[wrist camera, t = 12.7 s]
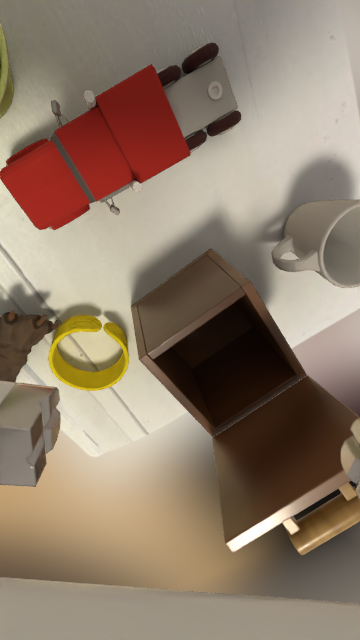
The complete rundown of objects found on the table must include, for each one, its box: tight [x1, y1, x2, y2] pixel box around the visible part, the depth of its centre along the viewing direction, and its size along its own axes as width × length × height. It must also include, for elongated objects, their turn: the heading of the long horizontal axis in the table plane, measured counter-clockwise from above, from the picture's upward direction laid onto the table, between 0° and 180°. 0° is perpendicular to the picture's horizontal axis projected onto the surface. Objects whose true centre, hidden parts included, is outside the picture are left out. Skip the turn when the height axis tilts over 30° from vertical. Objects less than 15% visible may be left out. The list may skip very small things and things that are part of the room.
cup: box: [272, 200, 360, 288], centre depth 31 cm, size 8×10×8 cm
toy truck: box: [0, 43, 241, 230], centre depth 24 cm, size 8×19×10 cm, turn 117°
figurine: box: [0, 311, 58, 383], centre depth 32 cm, size 6×4×12 cm
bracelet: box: [48, 315, 129, 391], centre depth 35 cm, size 7×8×3 cm
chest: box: [131, 249, 307, 437], centre depth 32 cm, size 12×11×11 cm
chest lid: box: [213, 376, 360, 555], centre depth 24 cm, size 12×11×5 cm
